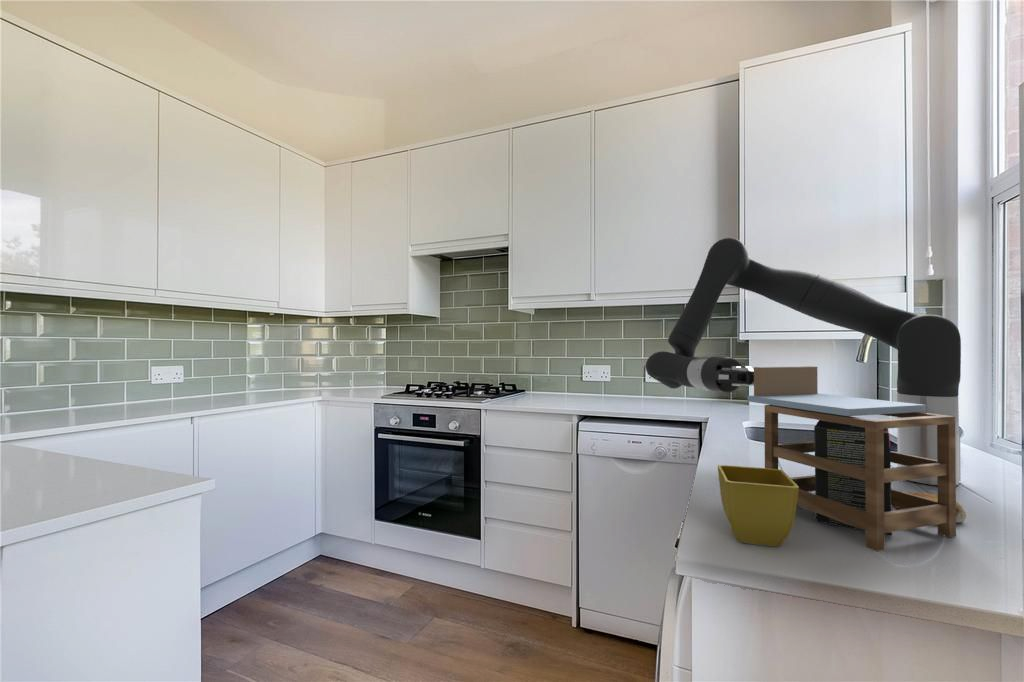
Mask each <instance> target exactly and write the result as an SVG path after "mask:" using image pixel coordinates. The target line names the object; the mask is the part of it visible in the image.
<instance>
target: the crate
mask: <svg viewBox="0 0 1024 682" xmlns="http://www.w3.org/2000/svg"><path fill="white" fill-rule="evenodd" d="M779 414H780V415H787V416H792V417H798V418H799V417H800V418H805V419H812V420H817V421H819V420H822V421H828V422H834V423H840V424H846V425H852V426H858V427H865V468H864V467H860V466H856V465H851V464H847V463H843V462H839V461H835V460H831V459H827V458H823V457H819V456H815V454H810V453H815V440H814V441H813V440H812V441H803V442H790V443H788V442H787V443H780V444H779ZM878 415H879V416H887V417H894V418H879V419H871V418H863V417H857V416H843V415H837V414H830V413H823V412H816V411H809V410H803V409H796V408H789V407H782V406H775V405H769V404H764V468H769V469H779V459H782V460H786V461H790V462H794V463H797V464H801V465H804V466H808V467H811V468H814V469H815V468H818V469H822V470H826V471H829V472H833V473H837V474H840V475H844V476H848V477H852V478H855V479H859V480H863V481H865V489H866V511H864V510H861V509H858V508H855V507H852V506H849V505H846V504H843V503H840V502H837V501H834V500H830V499H827V498H824V497H821V496H818V495H815V493H812V492H814V491H815V474H812V475H804V476H794V477H790V478H791V479H792V480H793V481H794V482H795V483H796V484H797V485H798V487H799V491H798V499H797V506H798V507H800V508H803V509H806V510H808V511H811V512H813V513H815V512H816V513H819V514H821V515H824V516H827V517H829V518H832V519H835V520H837V521H840V522H843V523H845V524H848V525H851V526H854V527H856V528H859V529H862V530H861V531H863V530H864V532H865V547H866V548H867V549H870V550H873V551H876V552H881V551H885V535H884V533H890V532H892V533H894V532H901V531H906V530H911V529H918V528H923V527H929V526H936V525H937V534H938V535H940V534H941V535H940V536H943V535H945V536H944V537H946V536H948V537H947V538H949V537H950V538H953V537H952V536H956V537H957V523H956V501H957V485H956V446H955V416H947V415H939V414H931V413H923V412H911V413H894V414H878ZM897 417H901V418H897ZM928 425H937V460H933V459H928V458H923V457H918V456H913V455H908V454H903V453H898V451H892V450H890V463H891V464H892V463H893V464H897V465H898V464H901V465H905V466H904V467H898V466H897V467H891V468H886V469H884V429H888V430H889V429H897V428H902V427H915V426H928ZM936 476H937V483H938V485H937V496H938V501H936V500H932V499H929V498H925V497H921V496H918V495H914V494H910V493H907V491H902V490H899V489H895V488H892V487H891V506H894V507H896V508H898V507H899V509H897V510H891V511H889V512H884V483H888V482H891V483H894V482H895V483H896V482H902V481H903V482H904V481H910V480H912V479H920V478H928V477H936ZM797 506H796V507H797ZM900 508H903V510H901V509H900Z"/></svg>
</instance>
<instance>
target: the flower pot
mask: <svg viewBox="0 0 1024 682" xmlns="http://www.w3.org/2000/svg"><path fill="white" fill-rule="evenodd" d="M717 471H718V472H717V473H718V481H719V491H720V499H721V504H722V508H723V511H724V514H725V517H726V519H727V521H728V522H729V523H728V524H729V525H730V528H731V531H732V533H733V536H734V537H735V539H736V541H737V542H739V543H742V544H750V545H751V544H752V545H758V546H766V547H767V546H768V547H776V548H777V547H780V546H781V545H782V544H783V543H784V542H785V541H786V540H787V538H788V536H789V535H790V534H791V531H792V529H793V526H794V523H795V518H796V511H797V499H798V491H799V487H798V485H797V484H796V483H795V482H794V481H793V480H792V479H791V478H792V477H790V476H789V475H788V474H787V473H786V472H785V471H783V469H779V468H778V469H769V468H765V467H755V466H754V467H752V466H739V465H738V466H737V465H725V464H718V465H717Z"/></svg>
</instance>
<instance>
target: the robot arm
mask: <svg viewBox="0 0 1024 682" xmlns="http://www.w3.org/2000/svg"><path fill="white" fill-rule="evenodd" d="M726 285H728V286H732V287H735V288H739V289H742V290H746V291H749V292H752V293H755V294H757V295H760V296H762V297H765V298H766V299H769V300H770V301H773V302H775V303H778V304H780V305H782V306H784V307H785V306H786V307H787V308H790V309H792V310H794V311H796V312H799V313H801V314H803V315H806V316H808V317H811V318H813V319H817V320H819V321H822V322H824V323H828V324H831V325H834V326H837V327H840V328H844V329H848V330H851V331H855V332H857V333H858V332H859V333H862V334H864V335H867V336H869V337H871V338H872V339H876V340H878V341H879V342H882V343H883V344H885V345H888V346H890V348H891V347H892V348H893V349H895V350H897V378H896V400H897V401H896V402H904V403H913V404H922V405H926V412H923V413H931V414H939V415H947V416H955V446H956V486H959V485H960V482H961V478H962V477H961V474H962V473H961V434H960V432H959V431H960V430H959V429H960V428H959V426H960V422H959V421H960V418H959V417H960V414H959V412H960V411H959V408H960V407H959V405H960V404H959V392H960V390H959V389H960V383H961V377H962V376H961V371H962V370H961V369H962V368H961V363H962V361H961V360H962V341H961V340H962V339H961V333H960V329H959V328H958V327H957V325H956V324H955V323H954V322H953V321H952V320H950V319H948V318H946V317H944V316H942V315H937V314H919V313H915V312H911V311H907V310H904V309H900V308H897V307H895V306H894V307H893V306H890V305H888V304H885V303H883V302H880V301H878V300H876V299H874V298H873V297H870V296H869V295H867V294H865V293H863V292H861V291H860V290H857V289H856V288H853V287H852V286H849V285H847V284H845V283H843V282H841V281H838V280H835V279H832V278H829V277H827V276H824V275H820V274H818V273H816V272H811V271H805V270H796V269H794V270H793V269H782V268H781V269H780V268H776V267H771V266H768V265H766V264H764V263H761V262H759V261H757V260H754V259H752V258H751V257H749V253H748V251H747V248H746V245H745V244H744V243H743V242H742V241H741V240H739V239H737V238H734V237H725V238H722V239H719V240H718V241H716V242H714V243H713V244H712V246H711V247H710V249H709V250H708V252H707V256H706V258H705V261H704V264H703V267H702V270H701V273H700V275H699V277H698V280H697V283H696V284H695V287H694V289H693V291H692V293H691V295H690V298H689V299H688V301H687V303H686V305H685V307H684V309H683V311H682V312H681V314H680V315H679V318H678V320H677V321H676V323H675V325H674V327H673V328H672V330H671V332H670V334H669V336H668V339H667V343H668V344H669V345H670V346H671V347H672V348H673V350H674V352H675V353H674V352H669V351H661V350H660V351H657V352H654V353H652V354H651V355H650V356H649V357H648V358H647V360H646V362H645V370H646V373H647V375H648V376H649V377H651V378H652V379H654V380H656V381H658V382H659V383H660V384H662V385H664V386H666V387H668V388H669V389H672V390H673V389H679V388H680V387H682V386H684V387H688V388H696V389H700V390H704V391H709V392H710V391H711V392H717V393H718V392H719V393H725V394H726V393H727V394H730V393H733V392H735V391H737V390H738V389H739V388H740V387H741V386H743V387H744V386H745V387H749V386H750V387H751V386H754V367H752V366H750V365H741V363H740V362H739V361H738V360H737V359H736V358H734V357H730V356H713V355H712V356H700V357H699V356H695V353H696V349H697V347H698V345H699V343H700V341H701V340H702V338H703V337H704V335H705V333H706V331H707V329H708V327H709V326H710V325H709V324H710V322H711V320H712V317H713V314H714V311H715V308H716V305H717V303H718V301H719V298H720V296H721V294H722V292H723V291H724V288H725V287H726ZM896 418H901V417H896ZM896 429H897V430H896V431H897V432H896V433H897V434H896V435H897V438H896V439H897V452H898V453H903V454H908V455H913V456H918V457H923V458H928V459H933V460H937V425H928V426H915V427H902V428H896ZM904 466H905V465H901V464H897V467H904ZM909 481H910V482H914V483H920V484H925V485H932V486H938V483H937V476H936V477H928V478H920V479H912V480H909Z"/></svg>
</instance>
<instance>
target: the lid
mask: <svg viewBox="0 0 1024 682" xmlns="http://www.w3.org/2000/svg"><path fill="white" fill-rule="evenodd" d="M753 368H754V385H753V395H747V402H748V403H755V404H763V405H775V406H782V407H789V408H796V409H803V410H809V411H816V412H823V413H830V414H837V415H843V416H851V417H857V416H859V417H860V416H874V415H879V414H894V413H911V412H926V405H922V404H913V403H904V402H897V401H893V400H892V401H891V400H883V399H873V398H865V397H856V396H855V397H854V396H844V395H836V394H827V393H826V394H825V393H818V366H756V367H755V366H754V367H753Z"/></svg>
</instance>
